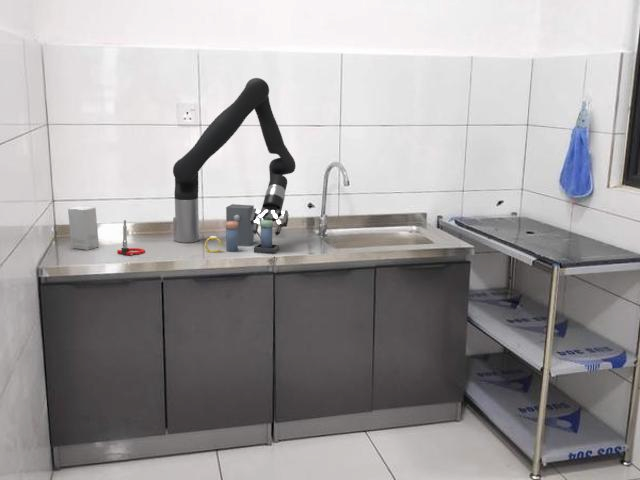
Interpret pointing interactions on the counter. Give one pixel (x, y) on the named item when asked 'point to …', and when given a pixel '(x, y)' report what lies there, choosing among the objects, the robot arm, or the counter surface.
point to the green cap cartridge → (266, 233)
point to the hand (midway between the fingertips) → (265, 233)
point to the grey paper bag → (83, 227)
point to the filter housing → (242, 222)
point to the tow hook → (126, 250)
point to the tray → (266, 249)
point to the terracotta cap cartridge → (231, 236)
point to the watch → (213, 238)
